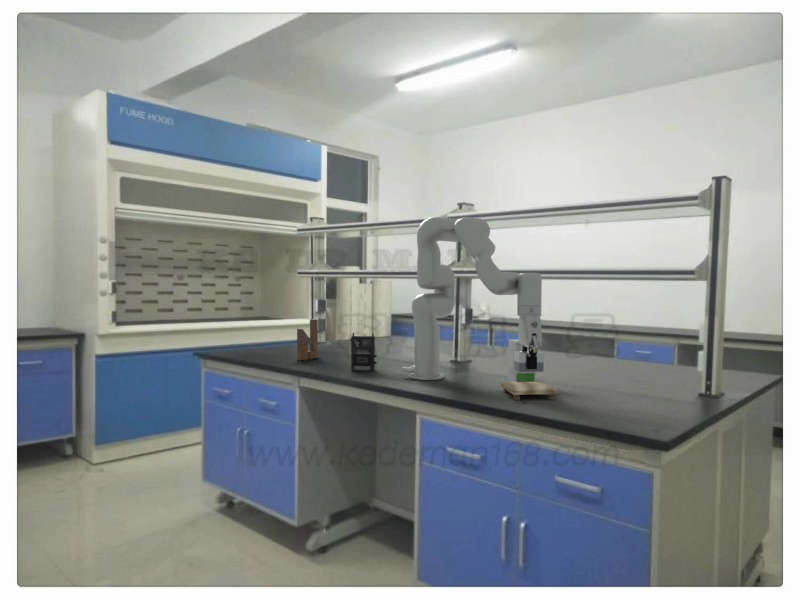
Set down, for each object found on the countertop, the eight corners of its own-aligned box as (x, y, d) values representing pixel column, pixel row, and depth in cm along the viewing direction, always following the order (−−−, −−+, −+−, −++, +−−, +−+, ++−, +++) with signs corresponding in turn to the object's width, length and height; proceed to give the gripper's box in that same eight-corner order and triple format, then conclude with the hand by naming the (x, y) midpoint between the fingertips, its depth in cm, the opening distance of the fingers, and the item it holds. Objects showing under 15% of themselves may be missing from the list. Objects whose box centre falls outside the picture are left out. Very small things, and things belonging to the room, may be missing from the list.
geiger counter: (377, 369, 228) (377, 332, 227) (375, 371, 224) (375, 333, 223) (352, 368, 229) (352, 332, 228) (349, 370, 225) (350, 333, 224)
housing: (543, 371, 178) (543, 352, 178) (519, 372, 177) (519, 353, 177) (538, 369, 183) (538, 350, 183) (514, 369, 182) (514, 351, 182)
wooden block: (296, 360, 251) (296, 320, 251) (313, 357, 260) (313, 318, 259) (302, 360, 249) (302, 320, 248) (319, 358, 258) (319, 319, 257)
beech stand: (513, 400, 173) (513, 390, 173) (500, 391, 187) (500, 382, 187) (557, 399, 174) (557, 390, 174) (541, 390, 188) (541, 381, 188)
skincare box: (515, 386, 196) (515, 341, 195) (506, 382, 202) (507, 339, 201) (536, 384, 198) (537, 341, 197) (527, 381, 204) (528, 338, 204)
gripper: (550, 312, 171) (549, 372, 172) (531, 309, 188) (531, 363, 189) (526, 313, 171) (525, 372, 171) (509, 309, 188) (509, 363, 188)
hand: (528, 367), depth 180 cm, fingers closed on housing, 5 cm apart
